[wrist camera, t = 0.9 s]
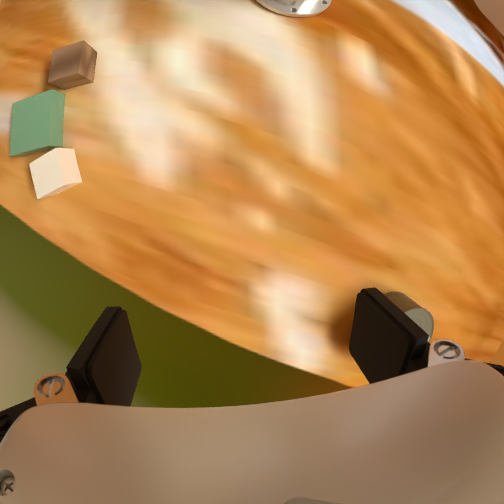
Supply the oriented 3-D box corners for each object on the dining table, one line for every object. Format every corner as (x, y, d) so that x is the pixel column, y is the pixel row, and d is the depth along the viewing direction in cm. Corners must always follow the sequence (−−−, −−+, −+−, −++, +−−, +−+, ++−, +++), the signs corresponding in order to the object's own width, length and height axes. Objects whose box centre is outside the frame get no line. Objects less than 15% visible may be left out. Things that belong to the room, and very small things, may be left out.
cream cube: (48, 163, 31) (29, 163, 26) (73, 149, 31) (56, 147, 26) (56, 194, 32) (37, 199, 28) (82, 181, 33) (64, 184, 28)
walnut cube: (68, 60, 27) (53, 50, 22) (97, 52, 27) (83, 40, 22) (64, 89, 28) (47, 82, 23) (93, 82, 29) (78, 72, 24)
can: (368, 288, 42) (390, 307, 35) (420, 291, 44) (443, 308, 37) (347, 350, 45) (363, 374, 39) (399, 347, 47) (417, 367, 40)
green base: (27, 107, 28) (12, 103, 24) (66, 94, 29) (52, 89, 25) (24, 156, 30) (9, 156, 26) (63, 146, 31) (49, 145, 27)
